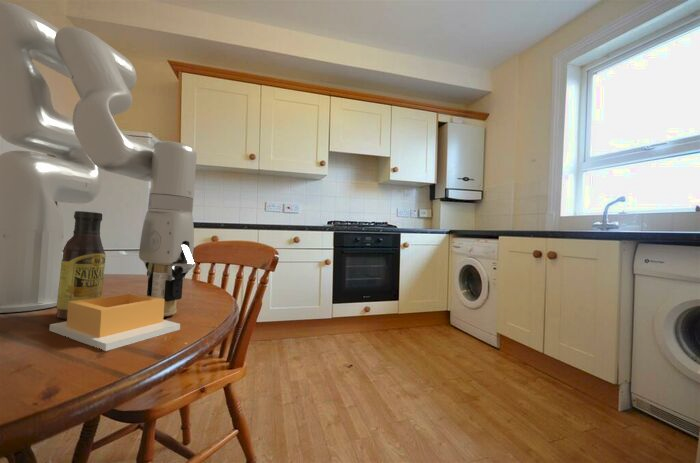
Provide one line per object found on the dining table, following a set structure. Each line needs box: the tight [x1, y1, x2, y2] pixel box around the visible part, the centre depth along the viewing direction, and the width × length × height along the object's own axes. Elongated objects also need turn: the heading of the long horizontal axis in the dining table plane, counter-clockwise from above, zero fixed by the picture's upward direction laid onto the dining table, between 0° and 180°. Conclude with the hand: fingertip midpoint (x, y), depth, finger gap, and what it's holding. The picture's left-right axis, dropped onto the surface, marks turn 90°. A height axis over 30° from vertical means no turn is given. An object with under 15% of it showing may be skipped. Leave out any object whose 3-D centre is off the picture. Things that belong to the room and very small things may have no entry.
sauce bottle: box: [56, 210, 107, 320], centre depth 56 cm, size 7×6×20 cm
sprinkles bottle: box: [151, 260, 179, 318], centre depth 58 cm, size 5×5×13 cm
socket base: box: [49, 291, 181, 352], centre depth 49 cm, size 16×11×5 cm
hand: (164, 297), depth 58 cm, fingers closed on sprinkles bottle, 4 cm apart
